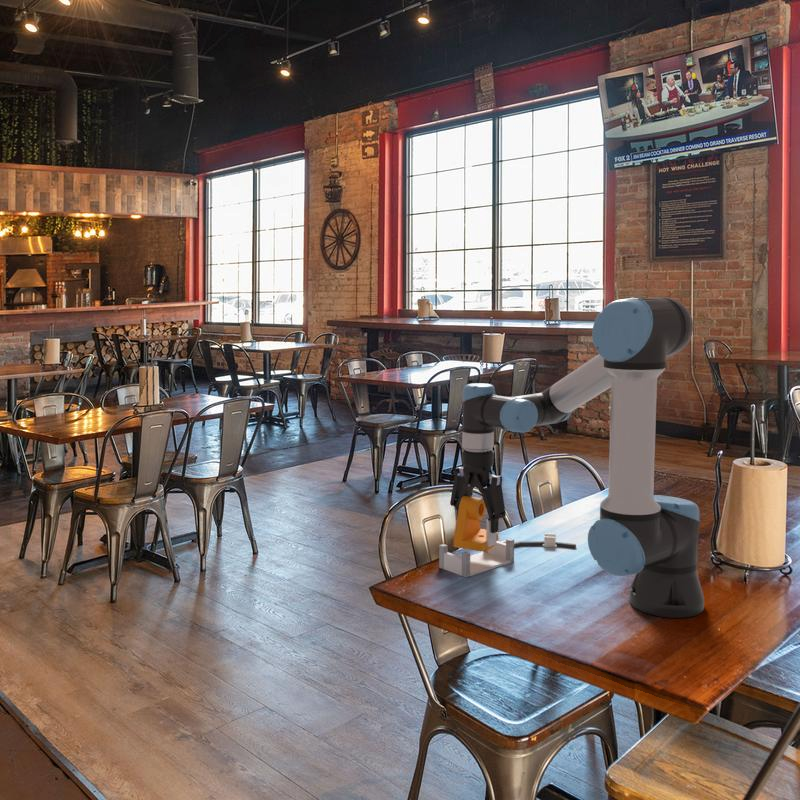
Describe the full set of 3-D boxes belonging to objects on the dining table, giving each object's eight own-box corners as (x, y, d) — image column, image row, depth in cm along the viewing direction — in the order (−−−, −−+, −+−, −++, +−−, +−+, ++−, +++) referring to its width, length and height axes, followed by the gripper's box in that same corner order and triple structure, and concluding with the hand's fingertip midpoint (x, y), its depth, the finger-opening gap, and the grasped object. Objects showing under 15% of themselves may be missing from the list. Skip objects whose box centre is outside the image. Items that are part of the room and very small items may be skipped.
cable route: (577, 548, 215) (577, 538, 215) (490, 553, 211) (490, 543, 211) (568, 540, 221) (568, 531, 221) (484, 546, 217) (484, 536, 217)
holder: (514, 561, 205) (514, 539, 204) (465, 577, 195) (466, 554, 194) (487, 552, 212) (487, 531, 211) (439, 567, 201) (439, 545, 201)
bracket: (481, 555, 196) (482, 505, 195) (453, 550, 200) (454, 501, 198) (499, 542, 206) (500, 494, 204) (472, 537, 209) (472, 491, 207)
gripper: (523, 453, 194) (521, 548, 197) (457, 440, 210) (456, 527, 213) (500, 458, 189) (499, 554, 192) (435, 443, 205) (434, 533, 208)
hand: (476, 540), depth 203 cm, fingers closed on bracket, 9 cm apart
